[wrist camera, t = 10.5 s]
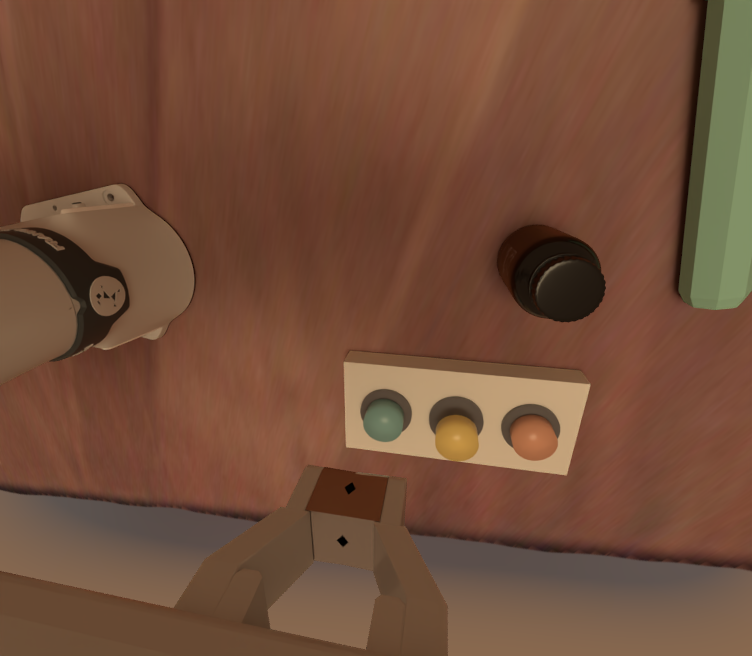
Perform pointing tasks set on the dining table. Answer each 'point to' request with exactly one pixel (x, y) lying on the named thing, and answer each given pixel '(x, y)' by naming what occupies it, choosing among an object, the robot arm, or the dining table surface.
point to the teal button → (383, 420)
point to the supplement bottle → (551, 273)
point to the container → (721, 165)
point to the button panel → (464, 404)
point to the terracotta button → (533, 437)
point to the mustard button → (456, 438)
